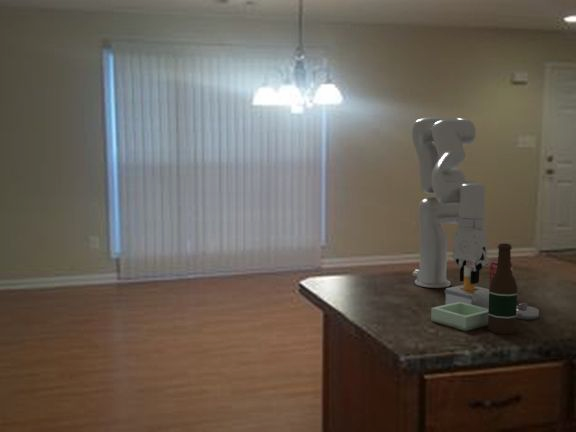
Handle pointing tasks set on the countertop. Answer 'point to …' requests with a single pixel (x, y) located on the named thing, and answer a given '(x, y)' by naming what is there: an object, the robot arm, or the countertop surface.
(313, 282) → the countertop surface
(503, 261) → the beer bottle
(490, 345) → the countertop surface
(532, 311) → the metal pot lid
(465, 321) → the tray
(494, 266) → the soda can
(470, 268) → the pin
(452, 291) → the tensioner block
